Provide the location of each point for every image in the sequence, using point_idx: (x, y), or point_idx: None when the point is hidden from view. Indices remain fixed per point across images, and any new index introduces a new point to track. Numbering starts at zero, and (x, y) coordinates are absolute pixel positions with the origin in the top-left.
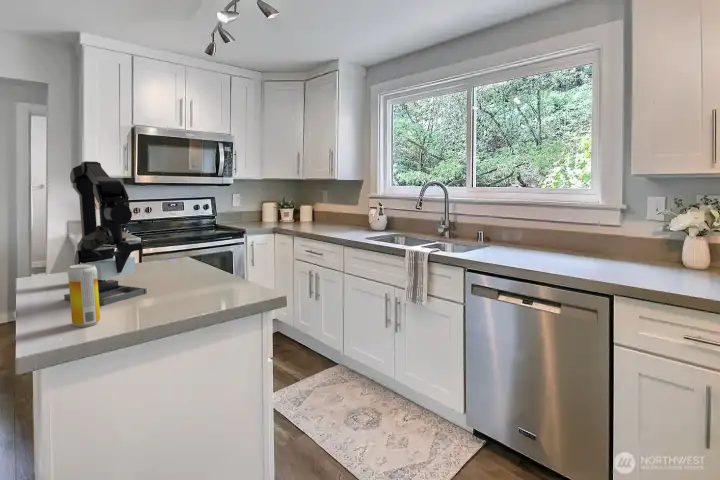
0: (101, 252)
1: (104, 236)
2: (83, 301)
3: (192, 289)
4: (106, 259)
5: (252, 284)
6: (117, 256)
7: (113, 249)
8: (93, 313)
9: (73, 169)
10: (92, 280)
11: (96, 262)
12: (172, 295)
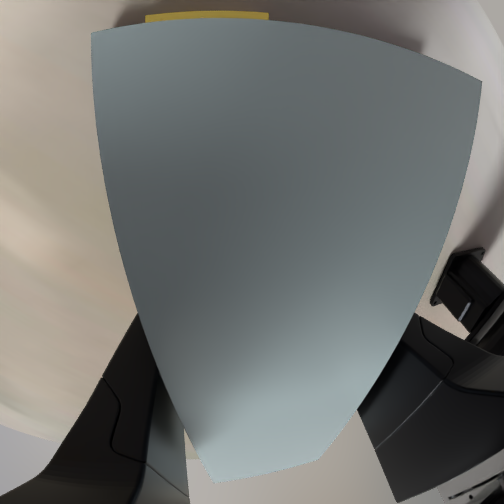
0: (491, 416)
1: None
2: None
3: (75, 387)
4: (383, 365)
5: (35, 435)
6: (49, 480)
7: (399, 490)
8: None
9: None
10: None
11: (371, 93)
12: (35, 326)
